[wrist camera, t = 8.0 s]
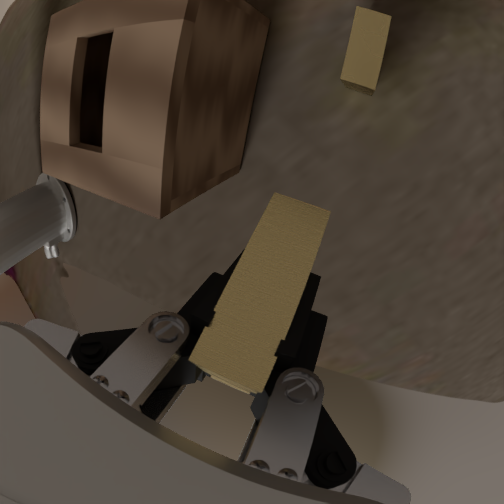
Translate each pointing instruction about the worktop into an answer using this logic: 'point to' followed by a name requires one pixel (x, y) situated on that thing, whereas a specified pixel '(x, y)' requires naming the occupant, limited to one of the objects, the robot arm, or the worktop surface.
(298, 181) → the worktop surface
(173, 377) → the robot arm
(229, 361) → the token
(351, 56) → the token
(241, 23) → the box
